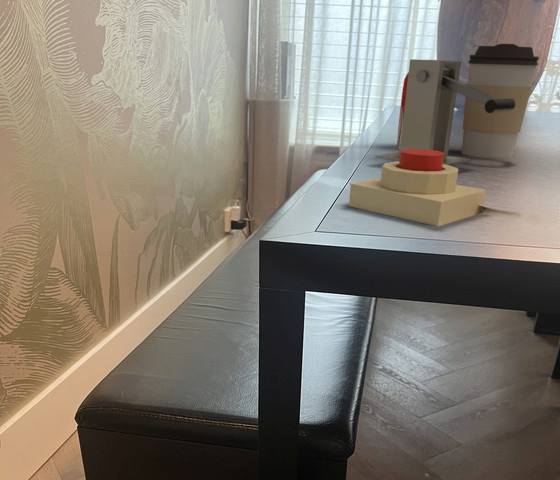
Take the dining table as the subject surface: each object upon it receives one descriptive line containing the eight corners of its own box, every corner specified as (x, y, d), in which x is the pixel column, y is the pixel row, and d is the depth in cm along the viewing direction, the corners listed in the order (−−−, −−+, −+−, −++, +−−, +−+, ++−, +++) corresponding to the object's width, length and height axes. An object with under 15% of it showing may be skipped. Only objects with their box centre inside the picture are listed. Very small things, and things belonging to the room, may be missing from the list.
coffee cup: (517, 168, 83) (542, 43, 76) (450, 162, 85) (468, 41, 78) (518, 159, 90) (541, 44, 83) (456, 154, 93) (473, 43, 86)
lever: (510, 117, 74) (519, 97, 73) (490, 119, 71) (500, 98, 70) (432, 81, 80) (439, 62, 78) (410, 82, 77) (417, 62, 75)
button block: (482, 213, 58) (490, 170, 56) (437, 227, 53) (444, 179, 51) (395, 196, 64) (400, 156, 62) (348, 206, 59) (351, 164, 57)
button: (449, 172, 57) (452, 152, 56) (426, 176, 55) (429, 156, 54) (413, 166, 60) (415, 147, 59) (389, 170, 57) (391, 151, 56)
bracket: (470, 168, 81) (487, 61, 75) (438, 175, 76) (454, 60, 70) (407, 158, 88) (419, 59, 82) (374, 164, 82) (384, 58, 76)
